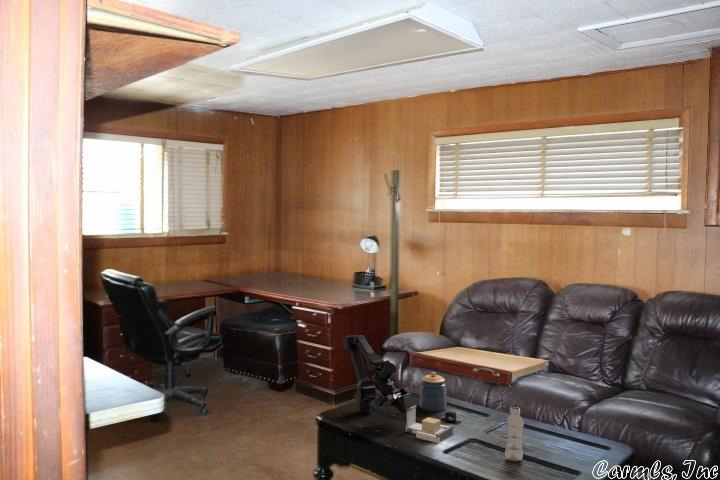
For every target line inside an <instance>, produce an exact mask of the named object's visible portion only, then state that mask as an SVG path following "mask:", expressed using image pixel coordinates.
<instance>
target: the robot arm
mask: <svg viewBox="0 0 720 480" xmlns="http://www.w3.org/2000/svg"><path fill="white" fill-rule="evenodd" d="M342 345H343V347H344V350H345V351H346V352H347V354H349V355H350V358H351V362H352V365H353V369H354V372H355V375H356V378H357V381H358V382H357V386H356V390H357V391H356V392H355V393H354V394H353V397H354V400H355V401H356V402H357V405H356V406H357V410H356V411H355V414H359V415H363V416H369V415H371V414H373V413H374V411H375V410H373V402H374V404H375V405H376V407H379V408H380V409H382V408H385V407H386V406H388V407H394V408H396V409H397V410H398V411H400V412H401V413H403V414H404V415H405V414H407V411H406V409H407V407H406V404H405V402H406V401H405V396H407V395H408V393H410V389H409V387H406V386H404V387H402V388H400V389H399V388H396V387H395V385H394V383H395V382H394V381H393V380H392V381H391V378H392V377H393V375H395V373H396V372H397V366H396V365H395V364H394V363H392V362H391V361H390V359H388V360H384V359H383V358H382V356H381V355H379V354H376V353H375V351H374V350H373V349H372V347H371V345H370V343H369V342H368V341H367V339H366V336H365V335H363V334H361V335H360V334H359V335H357V334H356V335H355V334H353V335H345V336H344V337H343V338H342ZM361 354H362V355H363V357H364V359H365V360H366V366H365V363H364V361H363V357H362V355H361ZM365 367H367V369H368V371H369V373H374V374H372V375H371V379H370V378H369V377H368V374H367V371H366V368H365ZM375 383H376V384H377V386H378V387H379V393H380V395H379V396H378V397H376V396H377V389H376V386H375Z"/></svg>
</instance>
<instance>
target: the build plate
mask: <svg viewBox="0 0 720 480" xmlns="http://www.w3.org/2000/svg"><path fill="white" fill-rule="evenodd" d="M444 416H445V417H442V418H440V419H439V420H441V422H445V423H448V424H452V425H454V426H455V425H456V426H457V425H459V424H462V423H463V421H462V420H458V419H457V412H455V411H451V410H448V411H447V410H446V411H445V415H444Z"/></svg>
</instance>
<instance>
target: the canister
mask: <svg viewBox="0 0 720 480" xmlns="http://www.w3.org/2000/svg"><path fill="white" fill-rule="evenodd" d="M445 381H446V378H444V377H443V376H442V375H440V374H439V375H438V374H437V373H436V372H435V371H432V372H430V374H426V375H424V376H422V377H421V381H420V382H419V385H420V389H419V395H420V396H419V407H420V409H422V410H424V411H428V412H441V411H444V410H446V407H447V389H446V387H447V385H448V384H447V383H446V382H445Z"/></svg>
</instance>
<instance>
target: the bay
mask: <svg viewBox="0 0 720 480" xmlns="http://www.w3.org/2000/svg"><path fill="white" fill-rule="evenodd" d="M442 428H443V429H445V430H443V431H442V432H440V433H438V434H436V436H435V435H431V434H427V433H423V432H419V431H417V432H416V434H415V438H417V439H420V440H425V441H428V442H433V443H436V444H439V443H441V442H442V441H444V440H445V439H447V438H449V437H451V436H453V435H454V434H455V425H450V426H448V425H443V424H440V429H442Z"/></svg>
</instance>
